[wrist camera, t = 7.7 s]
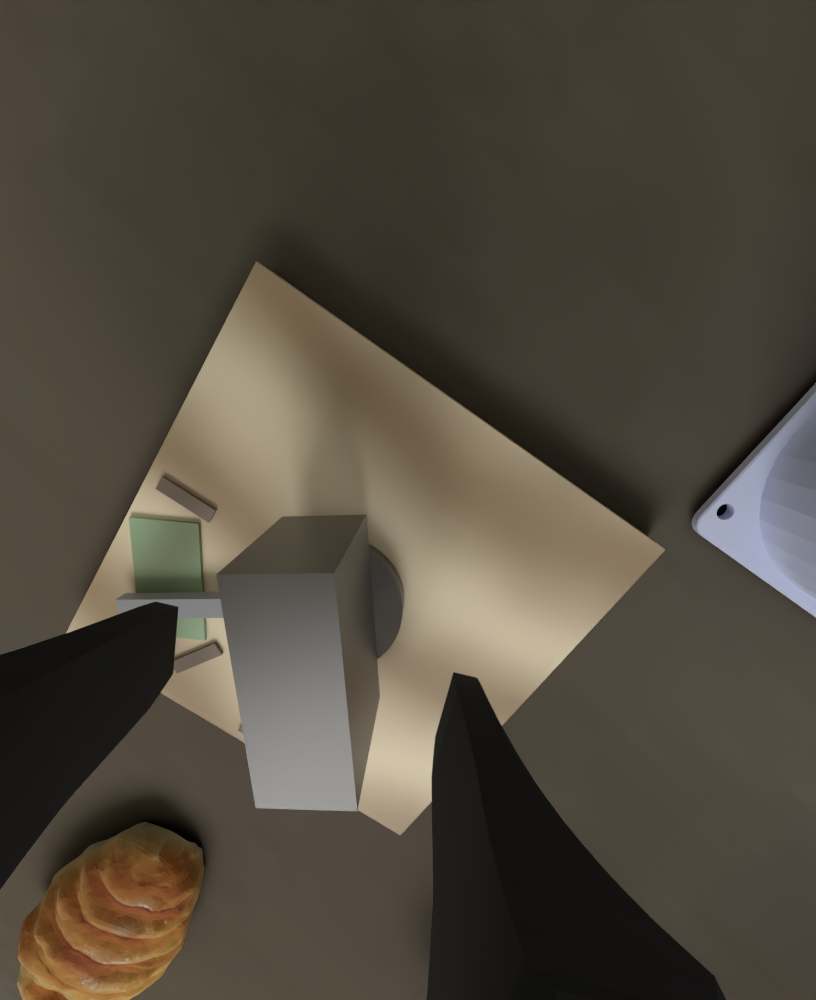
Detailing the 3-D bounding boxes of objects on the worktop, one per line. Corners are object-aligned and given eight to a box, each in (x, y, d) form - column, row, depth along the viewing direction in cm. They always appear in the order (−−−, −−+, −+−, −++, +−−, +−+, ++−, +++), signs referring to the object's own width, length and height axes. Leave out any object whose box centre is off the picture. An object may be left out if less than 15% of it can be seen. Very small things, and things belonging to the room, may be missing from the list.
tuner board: (271, 270, 14) (253, 259, 13) (648, 536, 15) (667, 551, 14) (89, 619, 18) (61, 638, 17) (403, 808, 19) (399, 838, 18)
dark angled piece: (399, 504, 15) (376, 572, 10) (408, 677, 16) (393, 812, 11) (113, 511, 15) (-46, 577, 10) (150, 675, 17) (28, 800, 12)
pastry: (119, 779, 20) (49, 868, 17) (248, 852, 21) (208, 953, 17) (44, 896, 23) (-31, 996, 19) (162, 958, 24) (110, 1066, 20)
